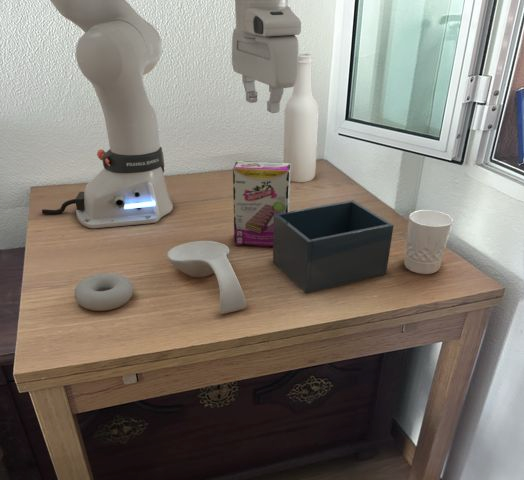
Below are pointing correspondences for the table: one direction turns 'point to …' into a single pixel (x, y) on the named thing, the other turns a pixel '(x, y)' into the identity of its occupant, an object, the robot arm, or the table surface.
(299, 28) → the robot arm
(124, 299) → the donut
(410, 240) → the white cup
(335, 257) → the holder
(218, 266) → the spoon rest
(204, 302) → the table surface
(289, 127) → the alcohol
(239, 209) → the candy bar box
